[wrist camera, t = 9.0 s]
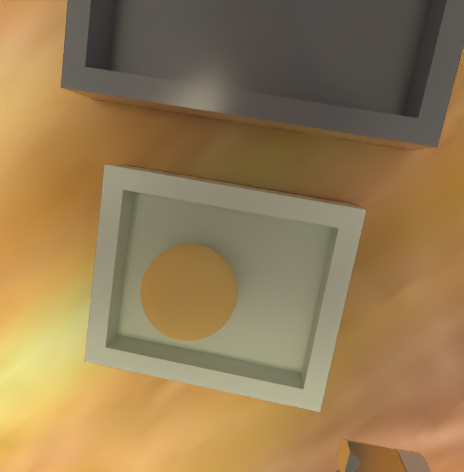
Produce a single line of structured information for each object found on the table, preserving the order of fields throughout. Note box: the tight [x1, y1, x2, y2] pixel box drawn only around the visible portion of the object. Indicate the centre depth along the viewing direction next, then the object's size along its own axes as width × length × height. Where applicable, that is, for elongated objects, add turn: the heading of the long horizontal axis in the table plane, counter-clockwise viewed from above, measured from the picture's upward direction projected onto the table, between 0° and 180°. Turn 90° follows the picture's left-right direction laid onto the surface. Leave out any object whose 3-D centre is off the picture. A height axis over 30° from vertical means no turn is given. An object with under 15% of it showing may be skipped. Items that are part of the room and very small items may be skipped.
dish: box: [61, 0, 464, 150], centre depth 17 cm, size 10×16×3 cm, turn 81°
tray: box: [85, 165, 366, 412], centre depth 20 cm, size 10×12×2 cm
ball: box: [140, 244, 237, 341], centre depth 18 cm, size 4×4×4 cm
